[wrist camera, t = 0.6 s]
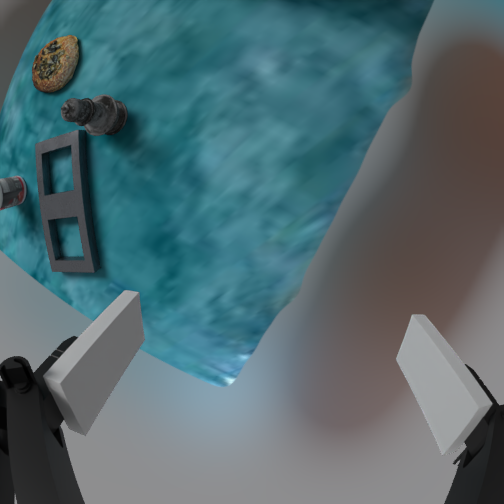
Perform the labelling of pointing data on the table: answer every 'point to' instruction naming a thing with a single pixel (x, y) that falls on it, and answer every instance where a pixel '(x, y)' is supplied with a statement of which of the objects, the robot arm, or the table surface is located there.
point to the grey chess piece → (96, 114)
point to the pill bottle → (12, 192)
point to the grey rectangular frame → (67, 203)
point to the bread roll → (55, 64)
